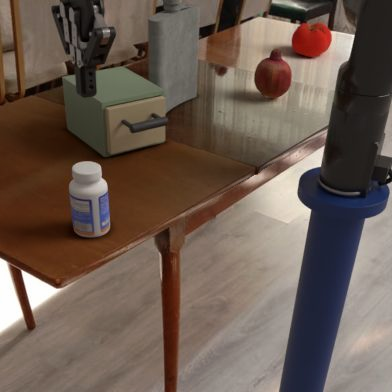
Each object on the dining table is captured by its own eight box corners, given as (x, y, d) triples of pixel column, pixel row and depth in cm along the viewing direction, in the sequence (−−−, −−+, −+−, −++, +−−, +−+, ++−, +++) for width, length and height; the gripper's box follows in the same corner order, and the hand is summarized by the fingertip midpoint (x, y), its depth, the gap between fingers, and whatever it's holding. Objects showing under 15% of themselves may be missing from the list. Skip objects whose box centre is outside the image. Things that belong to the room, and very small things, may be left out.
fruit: (272, 89, 140) (278, 41, 133) (296, 100, 135) (303, 51, 129) (244, 95, 136) (248, 46, 130) (268, 107, 132) (273, 57, 125)
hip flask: (159, 118, 125) (159, 6, 112) (142, 113, 126) (140, 3, 113) (199, 95, 136) (203, -9, 122) (183, 91, 137) (185, -13, 124)
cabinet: (164, 142, 116) (164, 89, 110) (104, 157, 110) (101, 102, 104) (124, 116, 125) (122, 66, 119) (67, 129, 119) (61, 76, 113)
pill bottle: (102, 216, 95) (98, 155, 89) (116, 233, 91) (112, 171, 85) (67, 224, 93) (61, 162, 86) (80, 242, 89) (74, 178, 83)
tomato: (287, 56, 158) (290, 28, 154) (294, 45, 166) (298, 18, 162) (325, 61, 156) (330, 33, 152) (331, 49, 164) (336, 22, 160)
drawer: (178, 149, 112) (179, 105, 107) (123, 163, 107) (121, 118, 102) (127, 116, 123) (126, 75, 118) (75, 127, 117) (71, 85, 112)
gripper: (136, -54, 68) (137, 107, 79) (80, -74, 76) (89, 75, 87) (73, -51, 64) (83, 117, 76) (21, -72, 72) (38, 83, 84)
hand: (86, 95), depth 81 cm, fingers closed
